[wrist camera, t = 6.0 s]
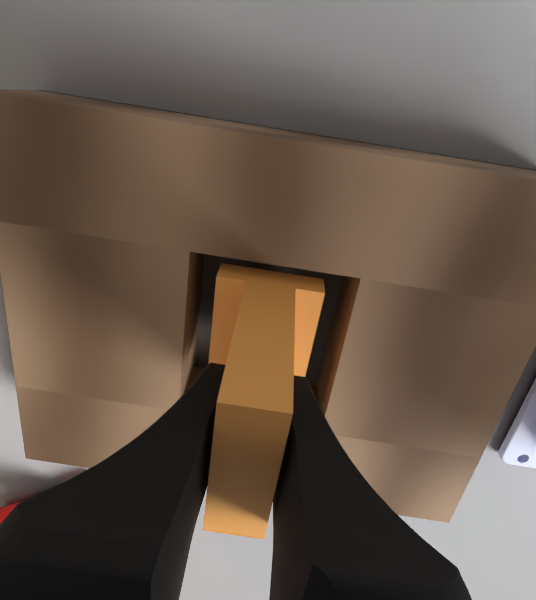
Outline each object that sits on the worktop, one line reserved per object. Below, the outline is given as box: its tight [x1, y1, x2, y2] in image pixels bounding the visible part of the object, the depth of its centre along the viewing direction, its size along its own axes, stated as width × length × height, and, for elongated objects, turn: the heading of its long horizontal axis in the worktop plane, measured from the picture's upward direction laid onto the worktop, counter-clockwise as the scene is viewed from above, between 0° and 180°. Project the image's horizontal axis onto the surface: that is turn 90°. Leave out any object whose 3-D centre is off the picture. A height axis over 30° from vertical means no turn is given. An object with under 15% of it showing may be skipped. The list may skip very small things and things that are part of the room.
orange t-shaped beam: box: [203, 263, 325, 539], centre depth 13 cm, size 4×4×6 cm
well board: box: [0, 90, 536, 522], centre depth 17 cm, size 18×14×4 cm
